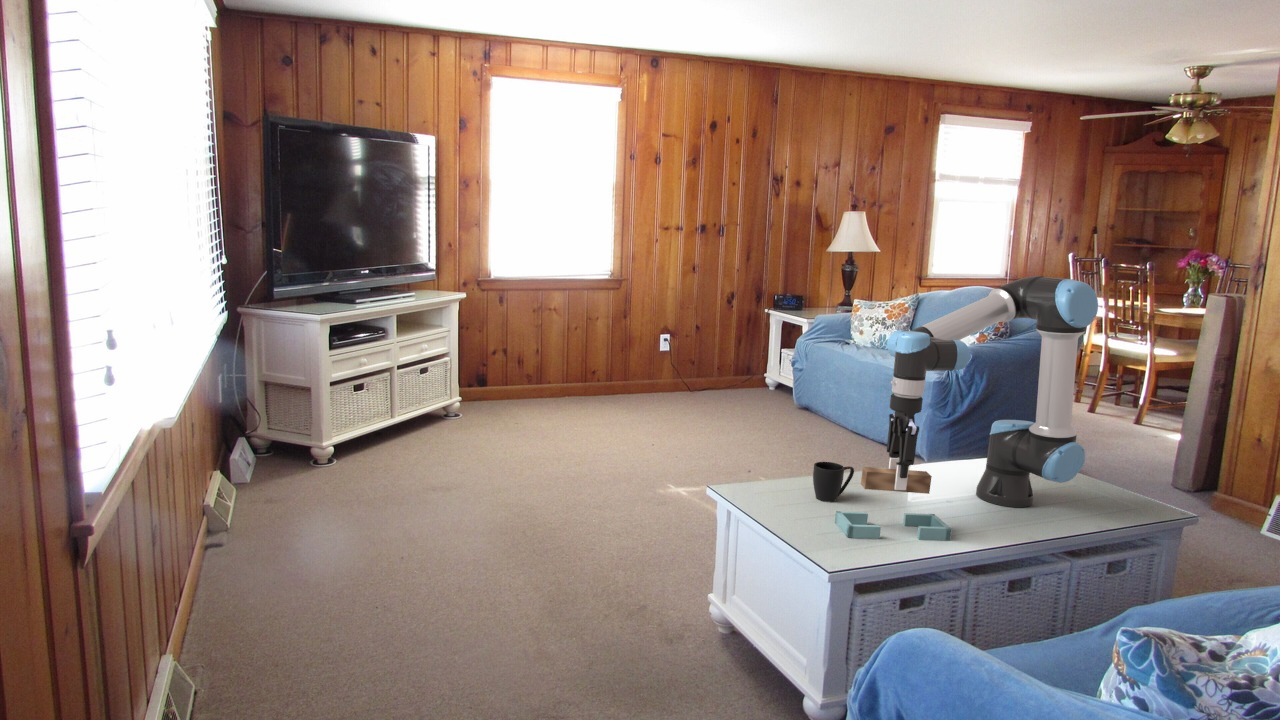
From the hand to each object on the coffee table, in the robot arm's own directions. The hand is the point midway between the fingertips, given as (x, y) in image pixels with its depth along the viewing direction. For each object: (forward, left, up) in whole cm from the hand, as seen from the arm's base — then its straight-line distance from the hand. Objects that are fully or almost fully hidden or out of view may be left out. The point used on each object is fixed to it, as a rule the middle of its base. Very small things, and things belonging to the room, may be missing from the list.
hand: (896, 486), depth 214 cm
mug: (+8, -24, -12) cm, 28 cm away
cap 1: (+9, 0, -12) cm, 15 cm away
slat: (0, 0, -1) cm, 1 cm away
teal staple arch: (-9, 0, -12) cm, 15 cm away
